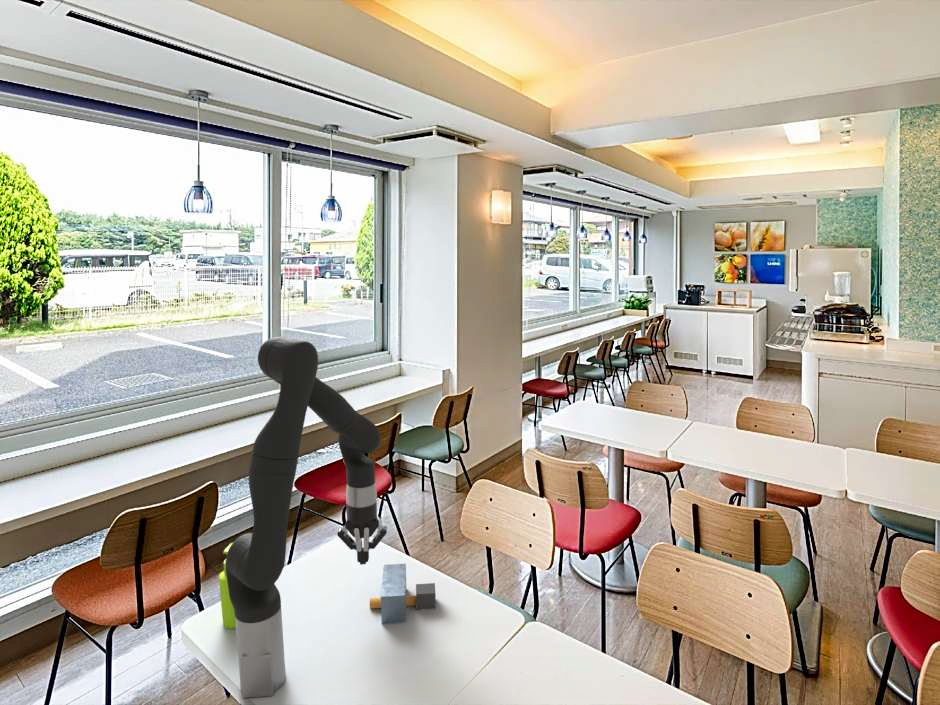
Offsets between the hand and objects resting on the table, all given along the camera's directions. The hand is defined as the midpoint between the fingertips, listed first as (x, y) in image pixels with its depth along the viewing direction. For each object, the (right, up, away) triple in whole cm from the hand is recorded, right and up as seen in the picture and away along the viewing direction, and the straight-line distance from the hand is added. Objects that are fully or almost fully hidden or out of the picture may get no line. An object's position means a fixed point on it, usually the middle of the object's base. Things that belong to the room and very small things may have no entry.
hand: (363, 562), depth 147 cm
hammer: (+10, -12, +3) cm, 16 cm away
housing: (+8, -12, +3) cm, 15 cm away
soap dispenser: (-31, -14, -3) cm, 34 cm away
